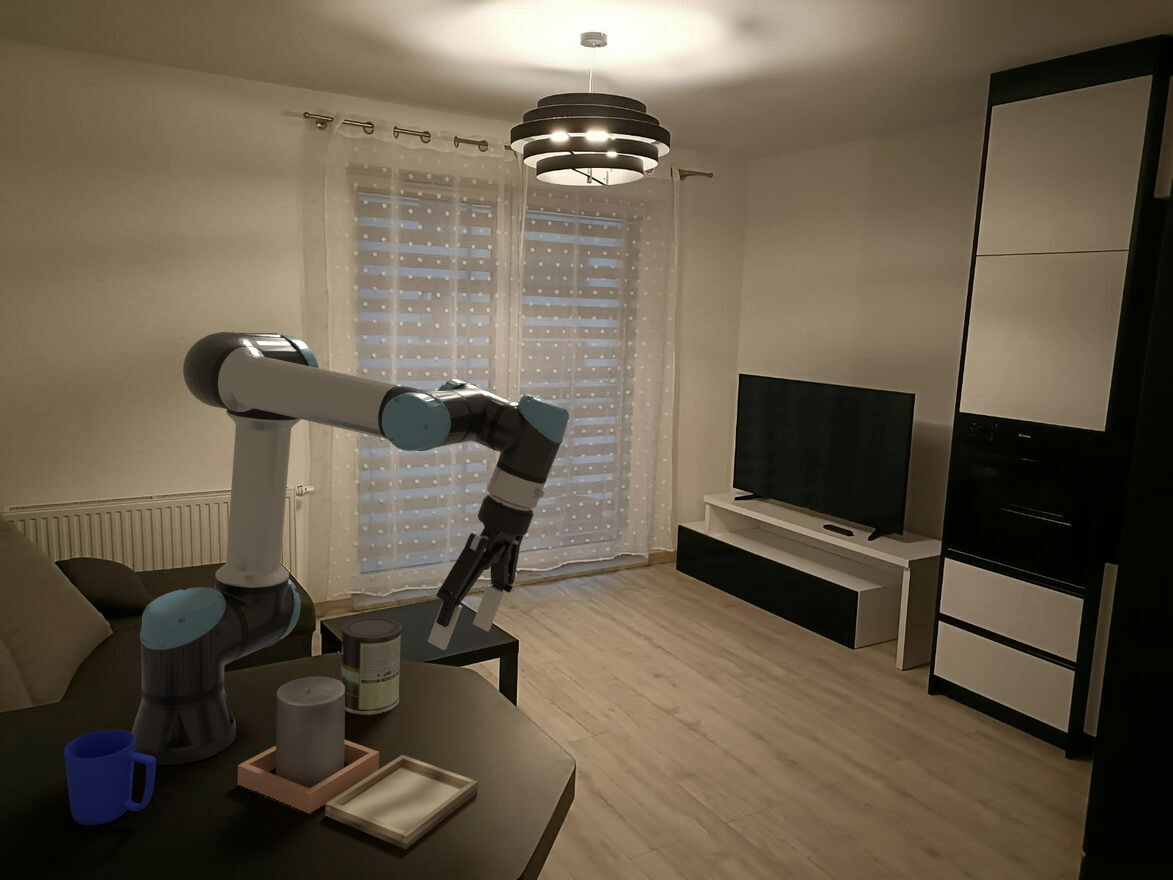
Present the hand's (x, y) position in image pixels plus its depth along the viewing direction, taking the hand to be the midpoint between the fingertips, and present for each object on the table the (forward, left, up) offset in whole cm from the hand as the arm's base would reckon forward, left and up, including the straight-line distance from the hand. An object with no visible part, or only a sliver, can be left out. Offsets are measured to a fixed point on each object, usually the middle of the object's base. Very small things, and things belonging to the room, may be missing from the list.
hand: (460, 636), depth 122 cm
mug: (-32, -32, -23) cm, 51 cm away
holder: (-18, -10, -23) cm, 31 cm away
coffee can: (-28, +14, -23) cm, 39 cm away
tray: (-2, -8, -23) cm, 24 cm away
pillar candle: (-18, -10, -23) cm, 31 cm away
